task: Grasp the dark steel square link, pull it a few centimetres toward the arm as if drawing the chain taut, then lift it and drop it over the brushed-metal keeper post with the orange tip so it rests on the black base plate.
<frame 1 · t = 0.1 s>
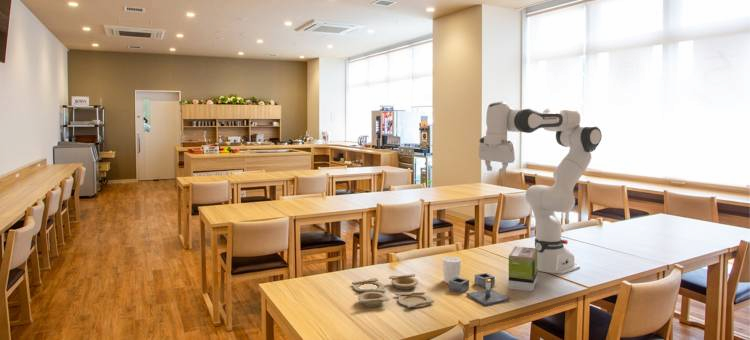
hand: (496, 171, 212), 48 cm above the table, fingers open, 8 cm apart
keeper post: (488, 298, 194), on the table
link: (484, 284, 209), on the table
white cup: (451, 281, 214), on the table
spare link: (458, 289, 204), on the table
tea box: (523, 285, 209), on the table
tableware set: (390, 296, 200), on the table
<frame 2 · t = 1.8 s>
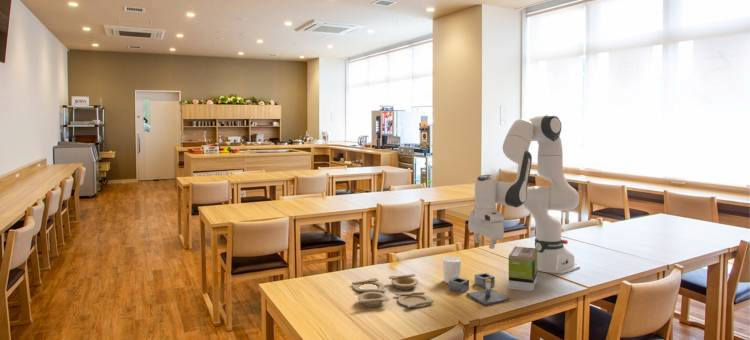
hand: (484, 245, 207), 17 cm above the table, fingers open, 8 cm apart
nothing on the table moved.
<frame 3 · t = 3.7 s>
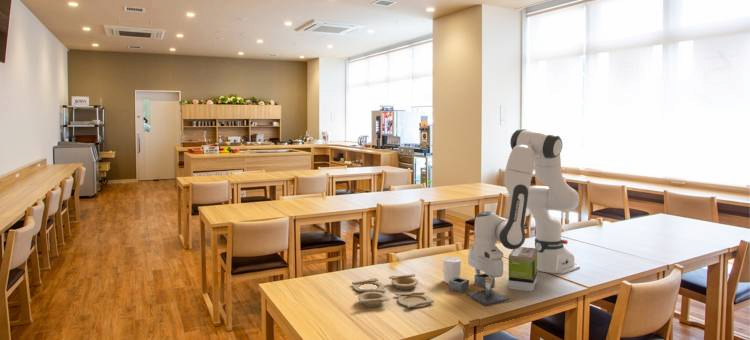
hand: (484, 281, 209), 2 cm above the table, fingers closed on link, 6 cm apart
link: (484, 284, 209), on the table, touching gripper
everything else where it was.
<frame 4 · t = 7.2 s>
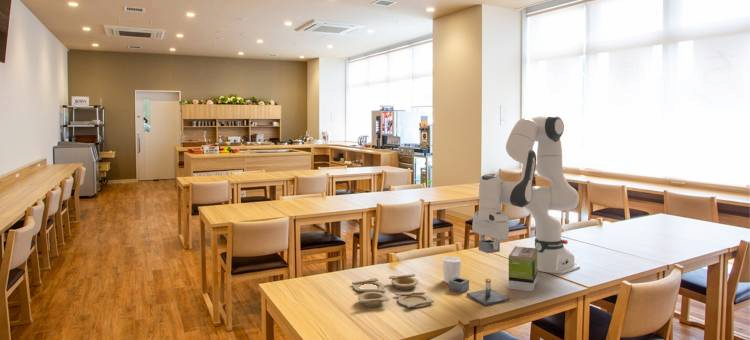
hand: (489, 247, 201), 18 cm above the table, fingers closed on link, 6 cm apart
link: (489, 250, 201), point 17 cm above the table, touching gripper
everything else where it was.
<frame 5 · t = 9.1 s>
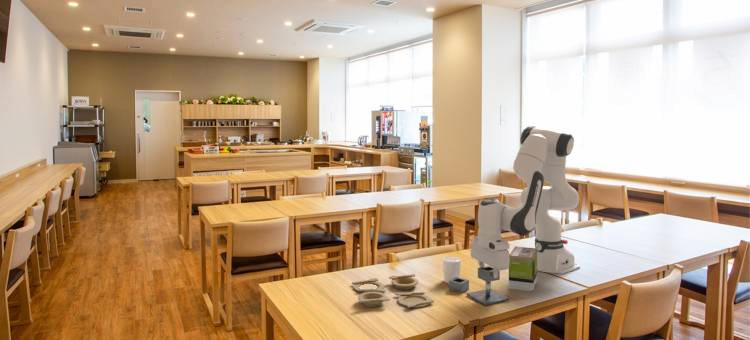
hand: (488, 274, 193), 10 cm above the table, fingers closed on link, 6 cm apart
link: (488, 278, 193), point 8 cm above the table, touching gripper
everything else where it was.
when the fingers open (5 cm above the table, at t = 10.6 s): link drops 2 cm, resting on keeper post.
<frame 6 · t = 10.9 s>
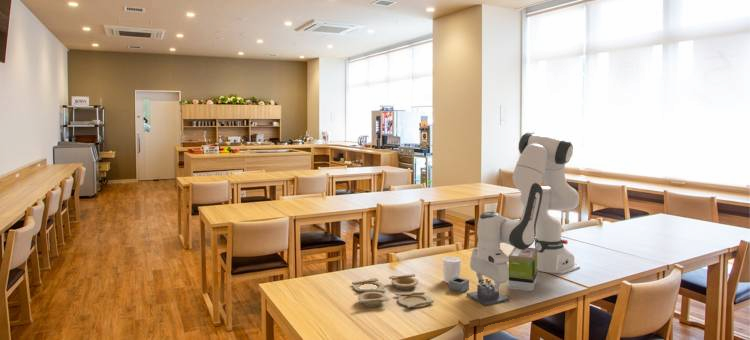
hand: (488, 287, 194), 5 cm above the table, fingers open, 8 cm apart
link: (488, 295, 194), point 1 cm above the table, touching keeper post
everything else where it was.
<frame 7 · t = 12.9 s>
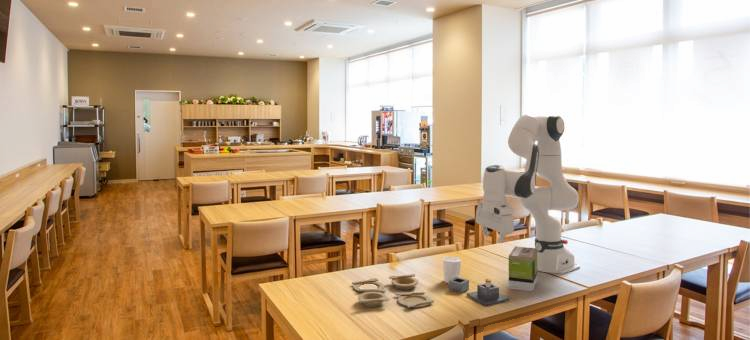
hand: (493, 239, 198), 22 cm above the table, fingers open, 8 cm apart
nothing on the table moved.
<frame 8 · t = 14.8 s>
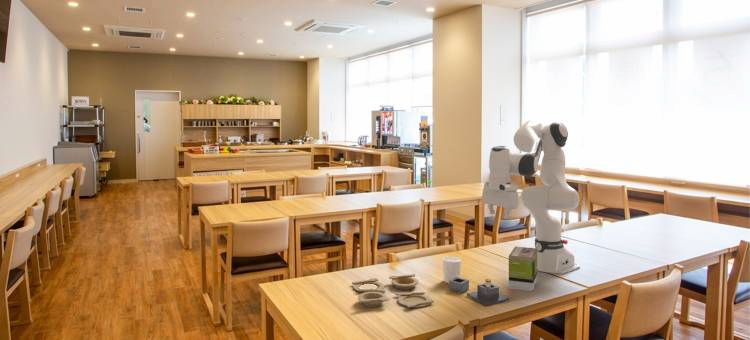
hand: (499, 216, 210), 29 cm above the table, fingers open, 8 cm apart
nothing on the table moved.
at the end: link 0.0 cm off-centre on the keeper post, point 1.0 cm above the keeper post's base; the gripper is holding nothing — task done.
